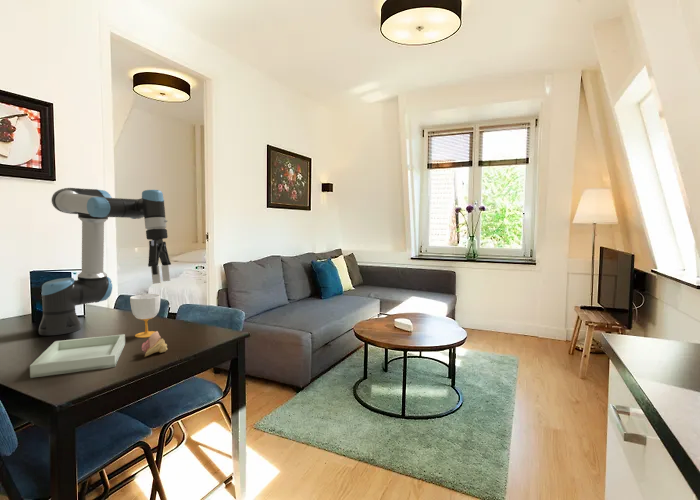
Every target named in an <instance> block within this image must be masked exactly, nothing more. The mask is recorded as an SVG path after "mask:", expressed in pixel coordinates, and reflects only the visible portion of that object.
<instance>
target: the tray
mask: <svg viewBox="0 0 700 500" xmlns="http://www.w3.org/2000/svg"><path fill="white" fill-rule="evenodd" d="M125 346H126V334H124V333H122V334H114V335H101V336H93V337H92V336H91V337H84V338H82V337H81V338H74V339H66V340H65V339H64V340H55V341H54V342H53V343H52V344H50V346H48V347H47V349H46V350H44V351H43V352H42V353H41V354H40V355H39V356H38V357H37V358H36V359H35V360H34V361H33V362H32V363H31V364H30V365H29V377H30V379H33V378H39V377H48V376H55V375H57V376H58V375H62V374H64V375H65V374H71V373H77V372H78V373H80V372H89V371H94V370H101V369H110V368H116V366H117V364H118V361H119V359H120V357H121V355H122V352H123V350H124V347H125Z"/></svg>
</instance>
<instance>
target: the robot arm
mask: <svg viewBox="0 0 700 500" xmlns="http://www.w3.org/2000/svg"><path fill="white" fill-rule="evenodd" d="M163 195H164V193H163V192H162V190H160V189H146V190H143V191H142V192H141V198H122V197H121V198H120V197H119V198H116V197H112V195H111V194H110V193H109V192H108V191H106V190H103V189H97V188H96V189H95V188H94V189H93V188H76V187H65V188H61V189H58V190H56V191H55V192H54V193H53V194H52V196H51V205H52V206H53V207H54V209H55V210H56V211H59V212H61V213H64V214H69V215H70V214H71V215H77V217H78V219H79V220H80V221H81V271H80V273H79V274H77V279H74V277H65V278H63V277H61V278H57V279H52V280H49V281H46V282H44V283H43V284H42V285H41V301H42V302H41V303H42V317H41V321H40V324H39V327H38V334H39V335H40V336H59V335H65V334H71V333H74V332H77V331H79V330H81V328H82V325H81V324H82V323H81V320H80V319H79V317H78V315H77V312H76V307H77V306H82V305H87V304H93V303H99V302H100V303H101V302H103V301H107V300H108V299H109V298H110V296H111V294H112V292H113V283H112V280H111V278H110V277H108V275H107V273H106V272H104V256H105V255H104V252H105V251H104V247H105V246H104V242H105V222H106V221H108V219H109V218H125V219H127V218H128V219H132V220H136V219H137V220H139V219H140V220H141V219H143V218H144V227H145V230H146V231H145V235H146V239H147V240H148V248H149V249H148V264H147V266H148V267H149V268H150V272H151V280H152V284H159V283H160V284H161V283H162V282H169V281H171V273H170V272H171V271H170V265H172V263H171V261H170V257H169V251H168V249H167V243H166V241H164V240H165V239H168V237H169V235H168V230H167V229H166V228H167V222H168V220H167V219H166V209H165V199H164V196H163ZM159 262H160V263H161V270H160V265H159ZM161 275H162V277H161ZM161 278H162V280H161Z"/></svg>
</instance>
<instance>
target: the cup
mask: <svg viewBox="0 0 700 500" xmlns="http://www.w3.org/2000/svg"><path fill="white" fill-rule="evenodd" d="M129 301H130V302H129V303H130V309H131V310H130V311H131V312H132V315H133V316H134V317H135V318H136V319H138V320H140V321H144V326H145V327H144V331H142V332H139V333H136V334H135V335H134V337H135V338H140V339H141V338H143V339H144V338H145V339H146V338H149V337H150V336H151V335H152V334H153V333H154V332H156V331H155V330H154V331H153V330H151V331H150V330H149V326H148V325H149V324H148V321H149V320H151V319H153V318H155V317H156V316H157V315H158V314H159V312H160V308H161V295H160V294H157V293H144V294H136V295H132V296H130V297H129Z"/></svg>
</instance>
